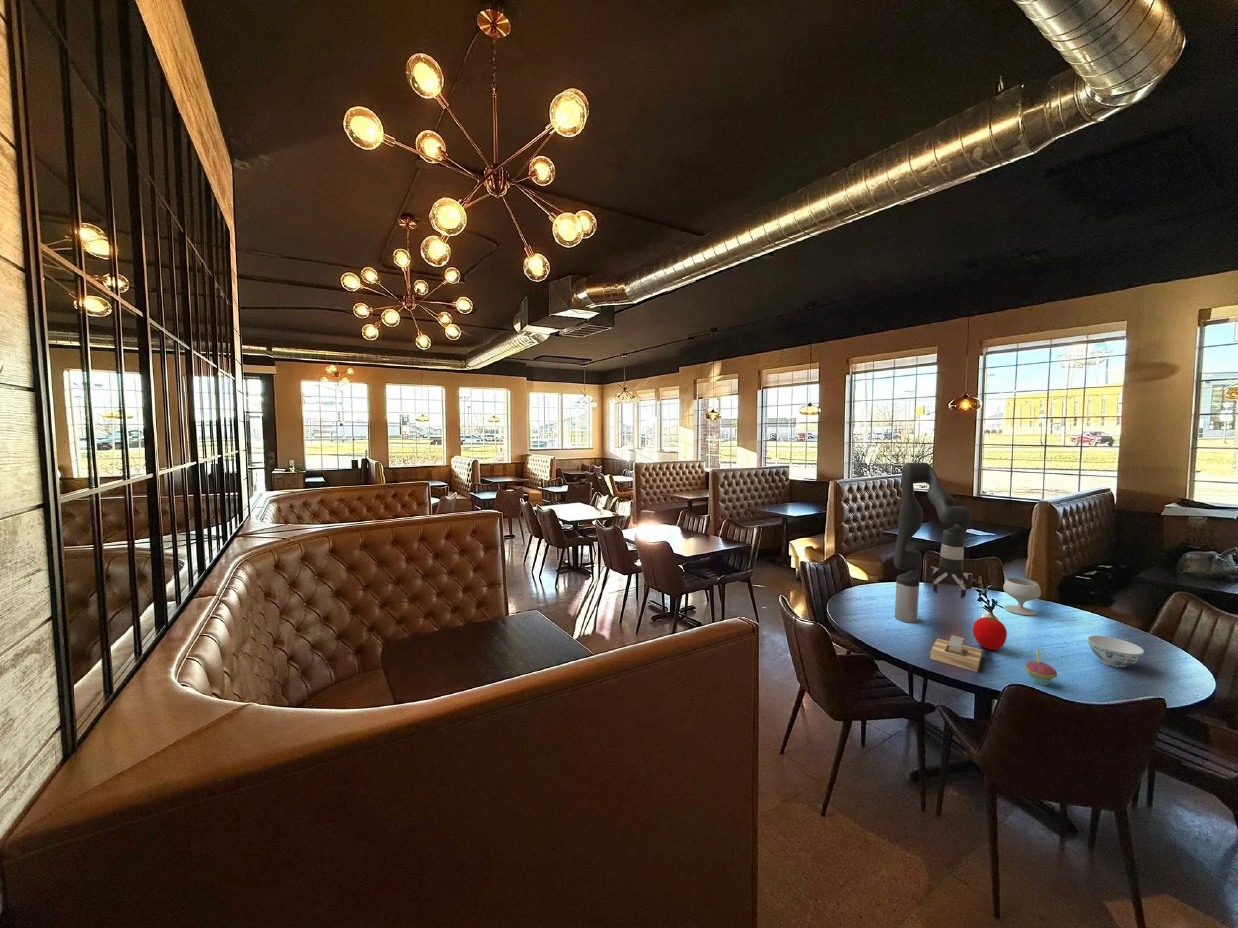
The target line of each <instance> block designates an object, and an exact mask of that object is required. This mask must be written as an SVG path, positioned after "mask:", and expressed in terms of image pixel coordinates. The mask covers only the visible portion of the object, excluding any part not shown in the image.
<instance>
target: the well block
mask: <svg viewBox="0 0 1238 928" xmlns="http://www.w3.org/2000/svg"><path fill="white" fill-rule="evenodd" d="M982 652H983V649H979V648H976V647H972V646H969V645H964V644H963V654H962V656H961V655H957V654H953V653H950V652H949V640H944V639H941V638H937V639H936V640H935V642H934V644H933V646H932V648H931V649H930V656H929V657H930V660H933V661H938V662H939V663H942V664H943V663H944V664H948V665H951V666H954V667H958V668H962V669H965V670H968V671H972V672H975V673H978V671H979V667H980V664H981V661H982V656H983V654H982Z"/></svg>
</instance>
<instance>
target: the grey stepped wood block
mask: <svg viewBox="0 0 1238 928" xmlns="http://www.w3.org/2000/svg"><path fill="white" fill-rule="evenodd" d="M948 641H949V652H950V653H953V654H957V655H961V656H962V654H963V645H964V641H965V638H964V637H960V636H957V635H953V634H952V635H951V636H950V639H949V640H948Z"/></svg>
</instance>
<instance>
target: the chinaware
mask: <svg viewBox="0 0 1238 928" xmlns="http://www.w3.org/2000/svg"><path fill="white" fill-rule="evenodd" d="M1087 642H1088V645H1089V649H1090V650H1091V651H1092V652H1093V654H1094V655H1095V656H1097V657H1098V658H1099V659H1100V661H1101V662H1102V663H1103V664H1105V663H1106V664H1105V665H1107V664H1108V666H1110V665H1112V666H1111V667H1113V666H1115V667H1114V668H1118V667H1125V668H1126V667H1127V666H1131V665H1133V664H1135V663H1137V662H1139V661H1140V660H1141V659H1142V657H1143V655H1144V653H1145V652H1144V649H1143V648H1142V647H1140V646H1139V645H1137V644H1134V643H1133V642H1130V641H1126V640H1124V639H1123V640H1122V639H1120V638H1117V637H1116V638H1115V637H1112V636H1111V637H1110V636H1106V635H1105V636H1104V635H1090V636H1088V637H1087Z"/></svg>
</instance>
